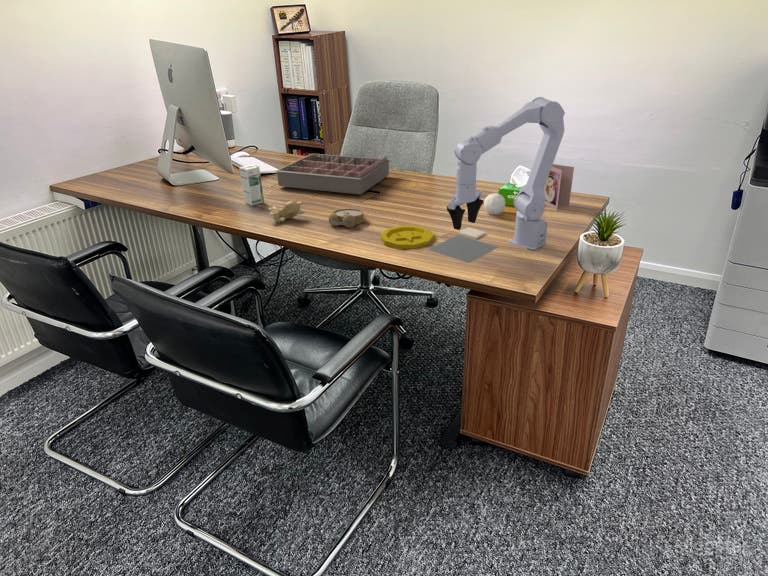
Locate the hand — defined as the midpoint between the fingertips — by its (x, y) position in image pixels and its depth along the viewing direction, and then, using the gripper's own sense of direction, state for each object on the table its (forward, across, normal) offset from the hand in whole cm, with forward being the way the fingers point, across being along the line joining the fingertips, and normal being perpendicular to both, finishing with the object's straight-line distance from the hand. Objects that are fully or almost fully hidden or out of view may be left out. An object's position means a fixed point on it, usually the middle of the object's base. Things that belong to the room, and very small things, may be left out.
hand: (464, 225), depth 173 cm
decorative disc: (+8, +5, -19) cm, 21 cm away
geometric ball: (+8, -34, -11) cm, 37 cm away
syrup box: (+8, +15, -91) cm, 93 cm away
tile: (+8, -8, -5) cm, 12 cm away
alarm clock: (+8, +7, -46) cm, 47 cm away
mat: (+8, 0, 0) cm, 8 cm away
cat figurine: (+8, +19, -64) cm, 68 cm away
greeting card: (+8, -57, +1) cm, 58 cm away
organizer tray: (+8, -24, -86) cm, 90 cm away
